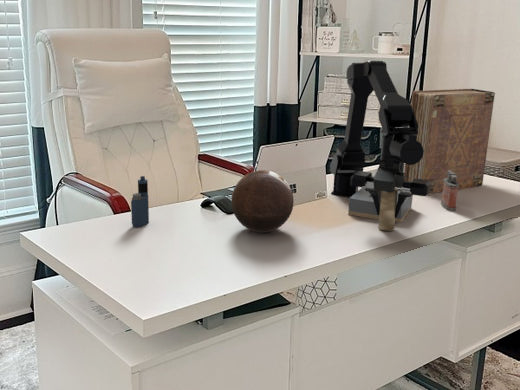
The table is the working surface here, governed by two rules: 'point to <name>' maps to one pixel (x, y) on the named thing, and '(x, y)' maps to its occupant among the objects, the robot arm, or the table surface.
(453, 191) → the lighter
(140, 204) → the vaping device
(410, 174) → the book
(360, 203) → the grey square-holed block
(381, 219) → the wooden pin
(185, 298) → the table surface
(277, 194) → the wooden sphere
